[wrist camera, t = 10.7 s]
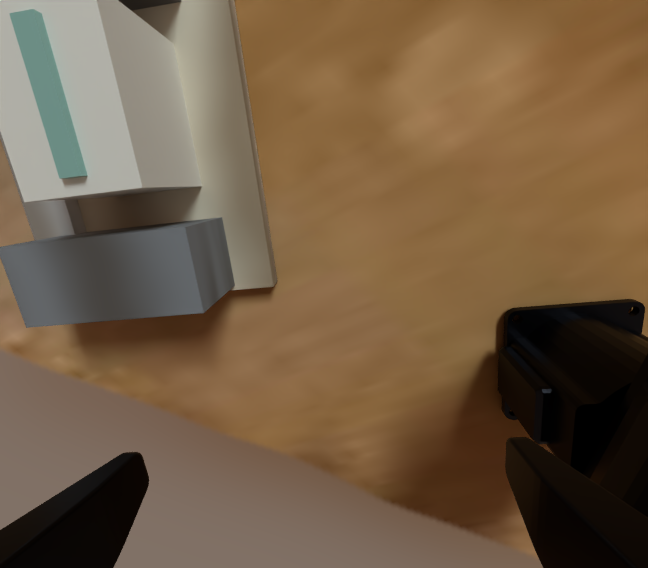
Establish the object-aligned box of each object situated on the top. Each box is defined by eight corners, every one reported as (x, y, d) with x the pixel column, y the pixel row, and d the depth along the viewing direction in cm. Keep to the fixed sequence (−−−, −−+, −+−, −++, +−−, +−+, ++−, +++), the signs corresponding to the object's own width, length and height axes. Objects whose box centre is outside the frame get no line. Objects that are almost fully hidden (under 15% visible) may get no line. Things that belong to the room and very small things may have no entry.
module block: (173, 43, 15) (84, -27, 10) (202, 186, 17) (137, 187, 12) (78, 59, 16) (-53, 0, 11) (115, 196, 17) (16, 202, 12)
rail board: (218, -101, 14) (152, -242, 10) (277, 281, 19) (252, 314, 14) (-39, -48, 16) (-210, -149, 11) (73, 299, 20) (-13, 336, 15)
